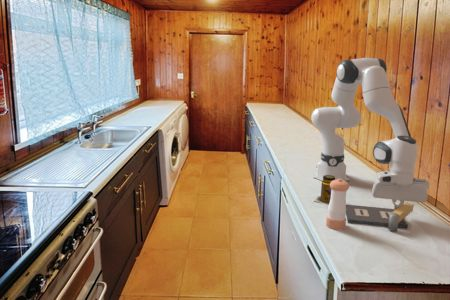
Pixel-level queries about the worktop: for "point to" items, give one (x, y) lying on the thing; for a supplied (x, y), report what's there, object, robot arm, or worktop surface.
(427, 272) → the worktop surface
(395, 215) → the tan piece
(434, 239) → the worktop surface
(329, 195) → the condiment
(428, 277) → the worktop surface
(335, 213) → the pepper shaker
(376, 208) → the board
